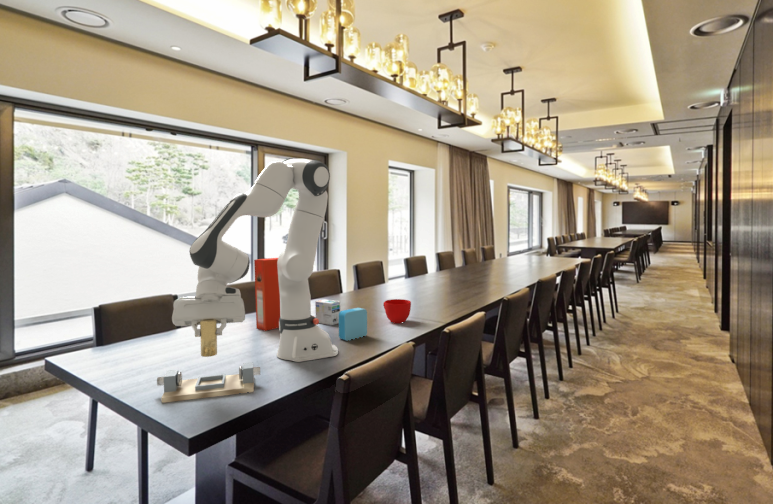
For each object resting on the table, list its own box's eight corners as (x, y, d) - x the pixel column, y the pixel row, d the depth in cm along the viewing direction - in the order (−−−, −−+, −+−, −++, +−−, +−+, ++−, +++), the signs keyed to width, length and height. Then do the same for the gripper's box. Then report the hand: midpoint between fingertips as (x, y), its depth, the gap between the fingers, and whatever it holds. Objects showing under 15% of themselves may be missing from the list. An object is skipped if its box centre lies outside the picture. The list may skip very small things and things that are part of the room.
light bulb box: (341, 322, 203) (340, 300, 202) (332, 325, 197) (331, 303, 196) (324, 319, 208) (323, 298, 207) (315, 322, 203) (314, 300, 202)
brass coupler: (217, 351, 125) (217, 318, 124) (216, 356, 121) (215, 322, 120) (201, 352, 124) (201, 319, 123) (200, 357, 120) (199, 323, 119)
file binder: (256, 328, 193) (254, 259, 190) (287, 321, 206) (285, 256, 203) (266, 331, 187) (264, 260, 185) (297, 323, 200) (296, 257, 198)
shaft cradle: (260, 376, 133) (259, 358, 133) (260, 391, 122) (260, 371, 121) (163, 387, 125) (162, 367, 124) (153, 403, 113) (152, 382, 113)
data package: (360, 334, 182) (360, 307, 182) (367, 336, 179) (367, 308, 178) (338, 339, 174) (338, 311, 173) (345, 341, 171) (345, 312, 170)
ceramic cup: (393, 316, 216) (393, 297, 215) (416, 322, 203) (416, 302, 202) (374, 320, 208) (374, 300, 207) (396, 326, 195) (396, 305, 194)
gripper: (172, 291, 125) (167, 332, 116) (244, 289, 131) (244, 327, 122) (175, 303, 129) (170, 343, 121) (245, 300, 135) (245, 338, 127)
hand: (208, 335), depth 121 cm, fingers closed on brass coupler, 4 cm apart
